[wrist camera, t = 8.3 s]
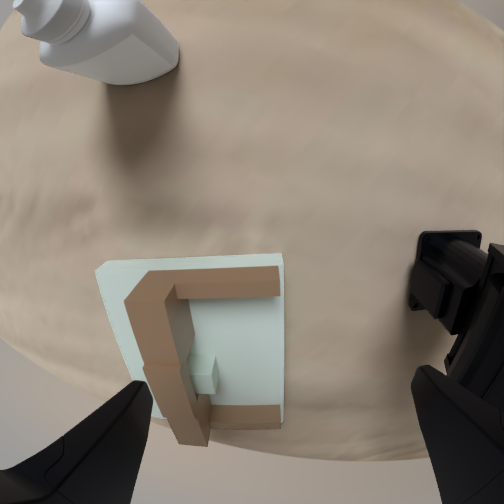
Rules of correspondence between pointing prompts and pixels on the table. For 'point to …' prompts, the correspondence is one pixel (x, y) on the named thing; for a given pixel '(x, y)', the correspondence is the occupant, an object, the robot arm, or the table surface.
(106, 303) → the stand
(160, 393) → the brown c-shaped bracket
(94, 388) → the table surface
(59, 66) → the eye dropper bottle
